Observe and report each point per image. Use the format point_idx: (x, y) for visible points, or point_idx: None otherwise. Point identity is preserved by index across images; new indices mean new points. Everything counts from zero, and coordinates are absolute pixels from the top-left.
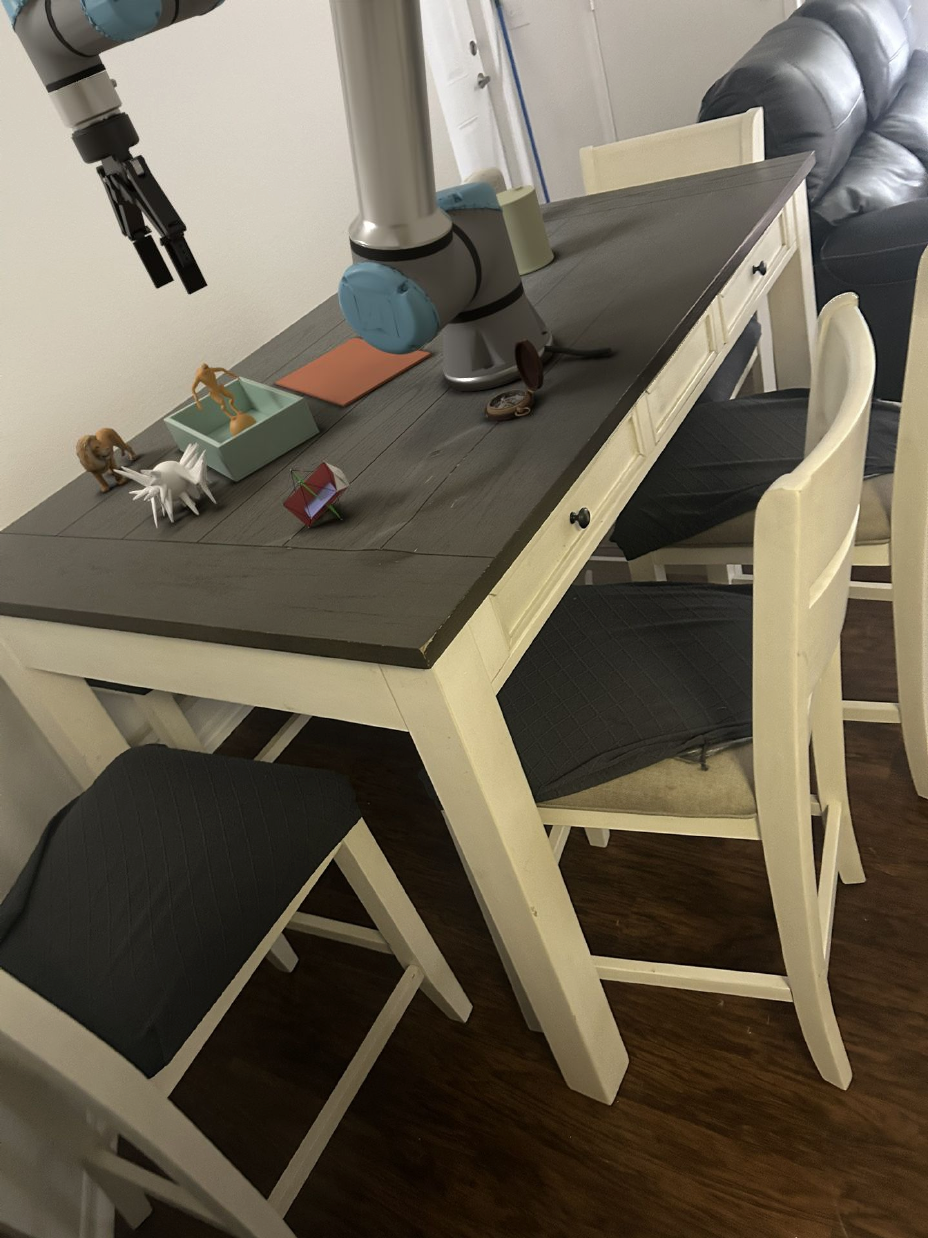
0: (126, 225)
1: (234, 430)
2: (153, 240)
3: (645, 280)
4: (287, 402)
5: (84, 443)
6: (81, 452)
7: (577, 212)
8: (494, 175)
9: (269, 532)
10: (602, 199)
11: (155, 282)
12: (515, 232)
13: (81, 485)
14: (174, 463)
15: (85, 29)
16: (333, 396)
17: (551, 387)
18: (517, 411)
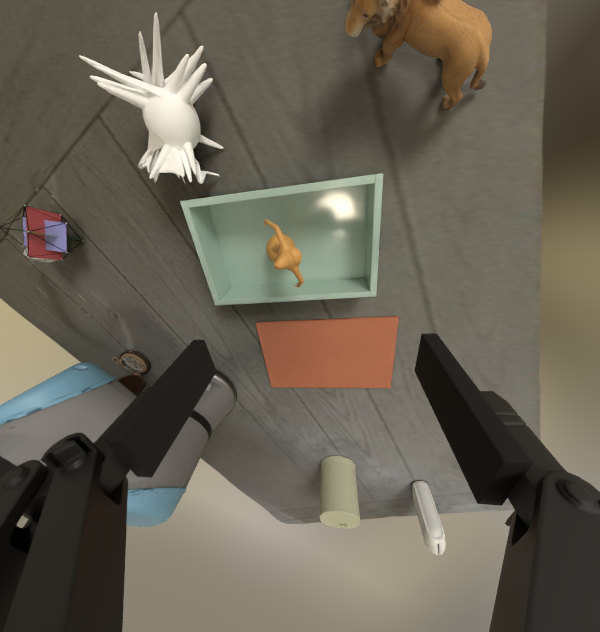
0: (565, 583)
1: (271, 238)
2: (465, 476)
3: (229, 453)
4: (247, 295)
5: None
6: None
7: (377, 505)
8: (426, 545)
9: (73, 186)
10: (374, 513)
11: (426, 345)
12: (324, 488)
13: None
14: (158, 135)
15: None
16: (282, 326)
17: (146, 380)
18: (118, 359)
